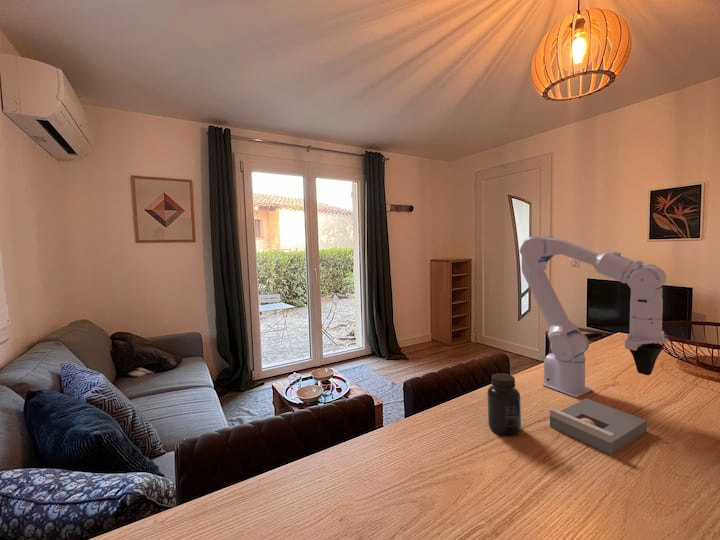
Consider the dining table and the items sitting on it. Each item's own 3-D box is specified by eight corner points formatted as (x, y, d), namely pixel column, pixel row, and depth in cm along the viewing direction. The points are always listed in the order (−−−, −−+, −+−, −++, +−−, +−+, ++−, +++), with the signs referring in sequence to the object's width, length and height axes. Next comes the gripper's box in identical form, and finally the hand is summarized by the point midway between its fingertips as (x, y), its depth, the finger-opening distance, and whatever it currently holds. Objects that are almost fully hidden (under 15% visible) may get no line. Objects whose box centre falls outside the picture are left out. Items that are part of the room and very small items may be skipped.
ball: (571, 422, 71) (580, 412, 72) (576, 435, 72) (585, 424, 73) (588, 429, 68) (597, 418, 69) (593, 442, 68) (602, 431, 70)
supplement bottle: (520, 423, 76) (520, 373, 75) (521, 439, 70) (520, 385, 69) (488, 418, 79) (488, 369, 78) (487, 433, 73) (486, 381, 72)
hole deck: (549, 426, 74) (549, 409, 74) (586, 408, 81) (586, 392, 81) (610, 455, 64) (610, 435, 63) (646, 431, 71) (647, 413, 70)
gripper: (653, 325, 70) (651, 387, 71) (681, 315, 76) (679, 372, 77) (614, 319, 76) (613, 376, 77) (644, 310, 83) (643, 363, 84)
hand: (644, 373), depth 78 cm, fingers closed
